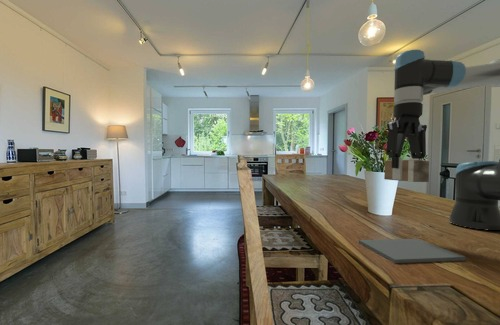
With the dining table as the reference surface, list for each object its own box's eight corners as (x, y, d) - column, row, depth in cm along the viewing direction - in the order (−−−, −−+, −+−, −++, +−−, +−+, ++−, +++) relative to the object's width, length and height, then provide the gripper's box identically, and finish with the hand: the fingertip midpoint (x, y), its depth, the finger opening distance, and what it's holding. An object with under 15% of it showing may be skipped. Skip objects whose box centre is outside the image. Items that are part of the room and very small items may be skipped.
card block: (398, 179, 84) (399, 160, 84) (428, 182, 74) (429, 160, 74) (384, 179, 82) (384, 159, 82) (412, 181, 72) (413, 159, 72)
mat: (417, 241, 73) (417, 238, 73) (465, 260, 59) (465, 256, 59) (358, 243, 70) (358, 240, 70) (394, 263, 56) (395, 259, 56)
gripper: (419, 109, 85) (416, 179, 85) (373, 103, 78) (371, 178, 79) (442, 104, 77) (440, 180, 77) (394, 97, 71) (391, 180, 71)
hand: (405, 179), depth 78 cm, fingers closed on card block, 6 cm apart
